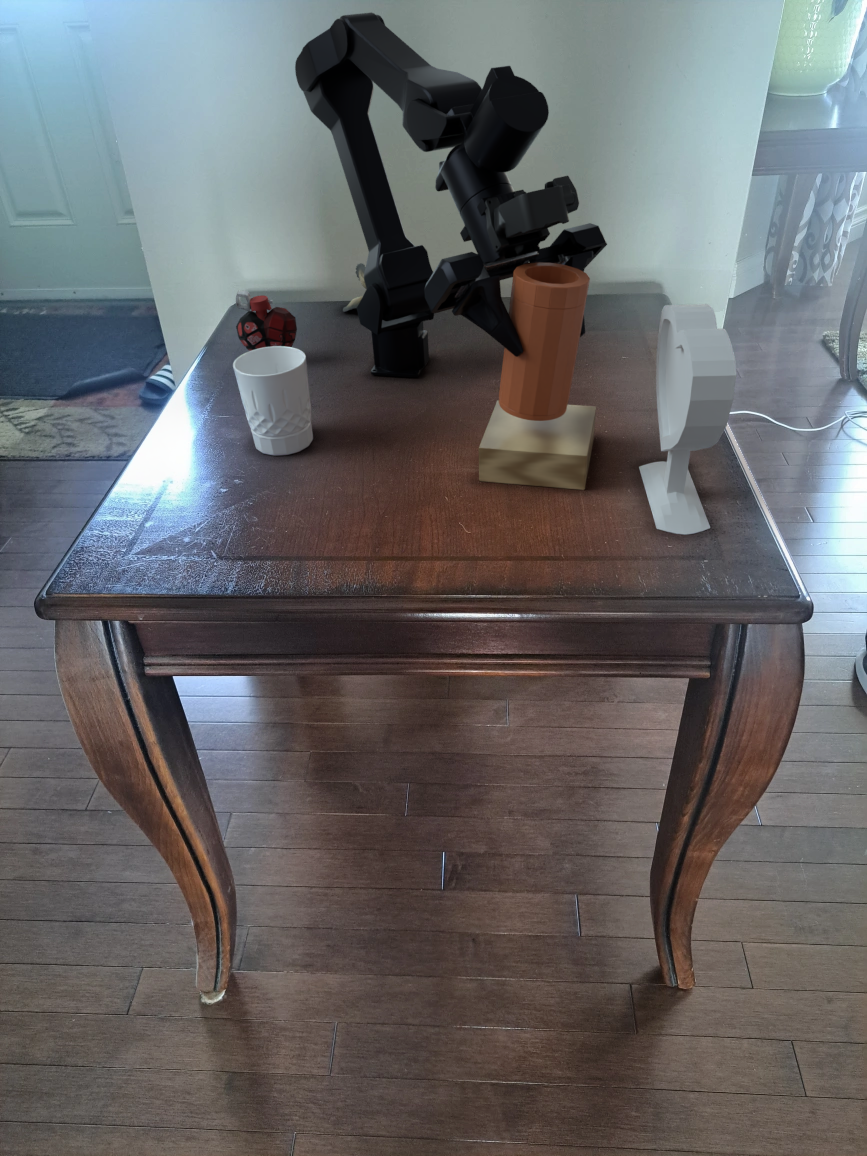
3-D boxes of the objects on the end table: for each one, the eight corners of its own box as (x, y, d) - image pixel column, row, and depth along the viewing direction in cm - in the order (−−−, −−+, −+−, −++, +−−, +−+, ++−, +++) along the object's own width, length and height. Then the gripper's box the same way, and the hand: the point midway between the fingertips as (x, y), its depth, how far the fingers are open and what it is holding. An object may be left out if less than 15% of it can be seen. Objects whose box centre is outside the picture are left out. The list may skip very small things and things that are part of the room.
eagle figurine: (410, 295, 130) (360, 279, 132) (402, 265, 123) (350, 248, 125) (389, 334, 128) (338, 317, 130) (380, 306, 121) (327, 289, 123)
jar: (507, 385, 90) (523, 258, 82) (571, 397, 88) (594, 269, 80) (491, 413, 84) (506, 279, 76) (559, 426, 83) (583, 292, 75)
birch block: (479, 481, 87) (478, 447, 85) (497, 432, 96) (497, 400, 93) (584, 490, 85) (587, 455, 82) (593, 438, 93) (596, 406, 91)
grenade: (244, 359, 116) (229, 287, 110) (301, 353, 117) (290, 281, 110) (243, 374, 112) (228, 300, 106) (302, 367, 113) (291, 294, 106)
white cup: (305, 461, 92) (291, 377, 86) (239, 456, 94) (221, 374, 88) (326, 427, 98) (315, 347, 92) (264, 424, 100) (249, 344, 94)
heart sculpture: (636, 457, 90) (655, 290, 78) (683, 456, 89) (709, 289, 78) (660, 540, 77) (687, 357, 66) (715, 540, 77) (751, 355, 66)
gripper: (434, 164, 71) (508, 329, 70) (602, 132, 78) (671, 281, 77) (395, 239, 81) (459, 383, 80) (547, 204, 88) (607, 336, 88)
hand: (551, 345), depth 81 cm, fingers closed on jar, 7 cm apart
